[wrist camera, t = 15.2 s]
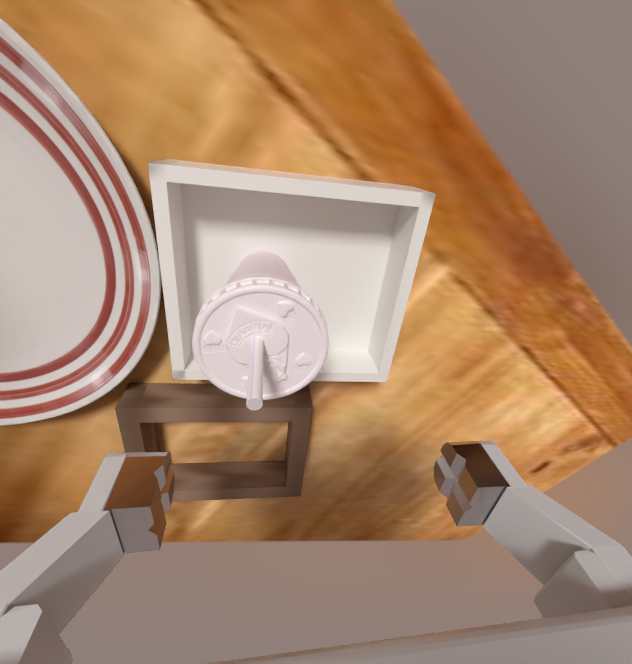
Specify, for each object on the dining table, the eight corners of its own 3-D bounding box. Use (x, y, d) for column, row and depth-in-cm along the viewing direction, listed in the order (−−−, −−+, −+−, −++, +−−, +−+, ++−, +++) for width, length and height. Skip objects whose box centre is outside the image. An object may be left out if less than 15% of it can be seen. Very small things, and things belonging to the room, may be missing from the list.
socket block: (147, 475, 33) (137, 503, 31) (129, 383, 28) (114, 407, 25) (298, 470, 36) (300, 496, 33) (308, 384, 30) (312, 407, 28)
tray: (185, 348, 27) (173, 379, 23) (168, 159, 20) (147, 162, 17) (372, 353, 29) (386, 382, 26) (410, 185, 23) (435, 193, 19)
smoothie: (286, 214, 22) (311, 304, 10) (321, 296, 25) (372, 439, 13) (199, 253, 23) (122, 384, 11) (244, 329, 26) (225, 495, 14)
